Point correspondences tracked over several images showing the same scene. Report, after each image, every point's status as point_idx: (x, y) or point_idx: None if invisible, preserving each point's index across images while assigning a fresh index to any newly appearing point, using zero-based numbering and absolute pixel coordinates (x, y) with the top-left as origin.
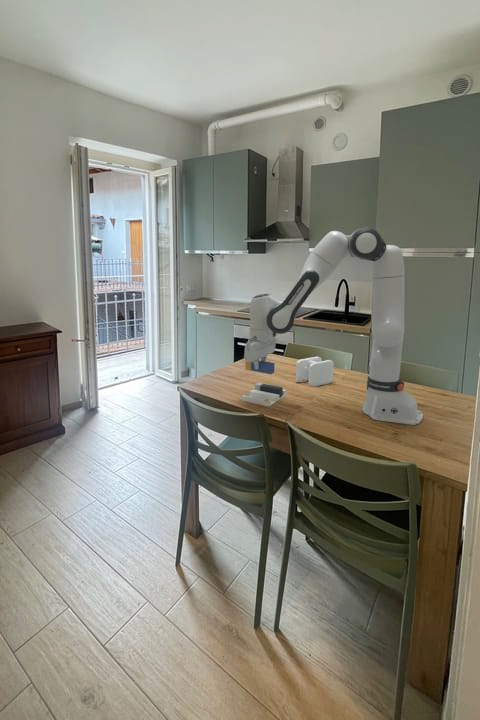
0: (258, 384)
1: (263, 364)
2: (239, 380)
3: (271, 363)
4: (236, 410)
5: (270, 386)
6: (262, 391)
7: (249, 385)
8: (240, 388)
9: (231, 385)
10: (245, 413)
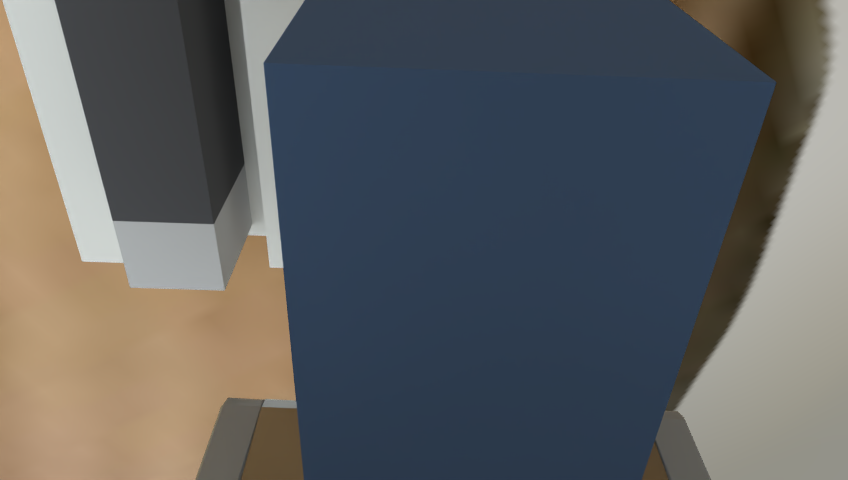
0: (188, 258)
1: (636, 434)
2: (18, 476)
3: (451, 194)
4: (757, 179)
5: (139, 77)
6: (260, 139)
7: (51, 367)
8: (185, 394)
9: (176, 473)
10: (824, 56)
